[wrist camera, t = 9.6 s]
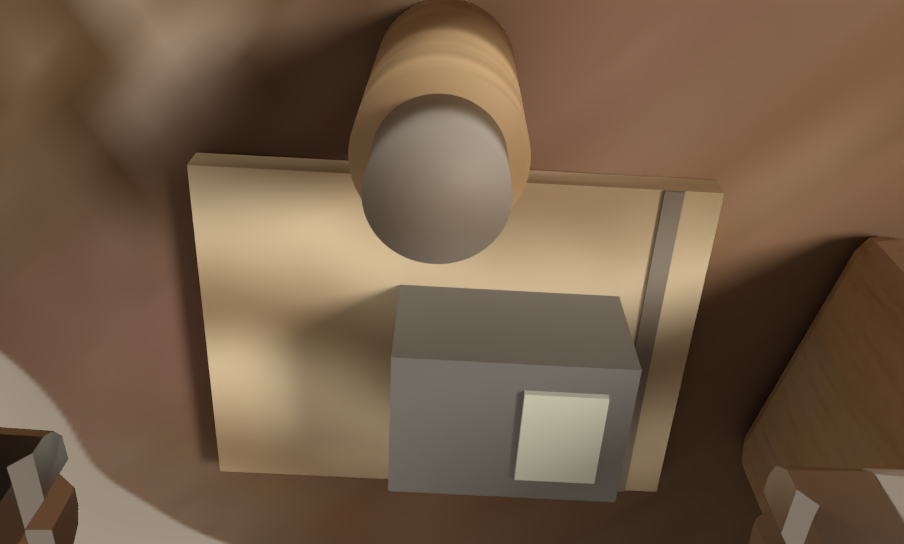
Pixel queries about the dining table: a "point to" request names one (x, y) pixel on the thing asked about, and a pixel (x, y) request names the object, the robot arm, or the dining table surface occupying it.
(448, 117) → the peg
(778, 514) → the robot arm
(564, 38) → the dining table surface
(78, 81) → the dining table surface
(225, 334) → the plywood panel
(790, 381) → the wooden block
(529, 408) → the grey rectangular block
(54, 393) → the dining table surface
